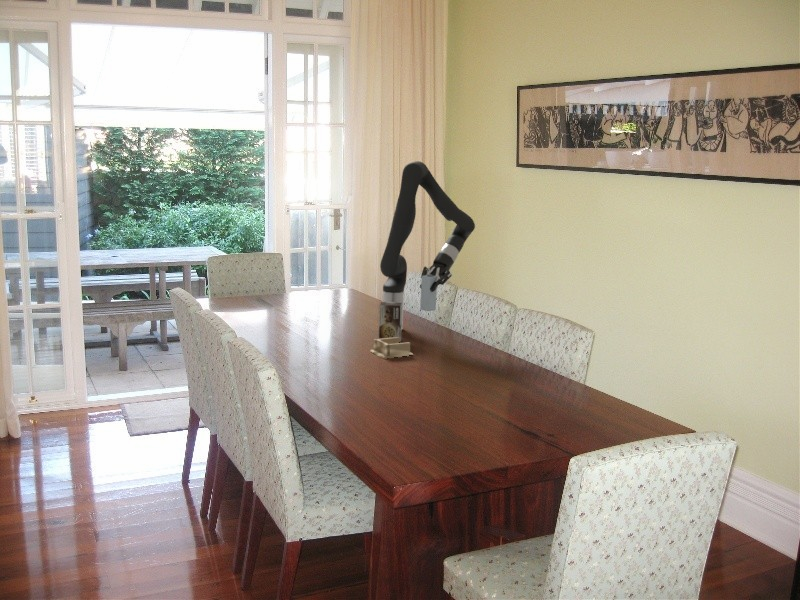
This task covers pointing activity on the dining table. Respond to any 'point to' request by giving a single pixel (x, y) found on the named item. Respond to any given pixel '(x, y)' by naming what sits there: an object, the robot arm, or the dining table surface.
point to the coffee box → (390, 320)
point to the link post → (428, 293)
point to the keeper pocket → (390, 348)
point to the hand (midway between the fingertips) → (426, 289)
